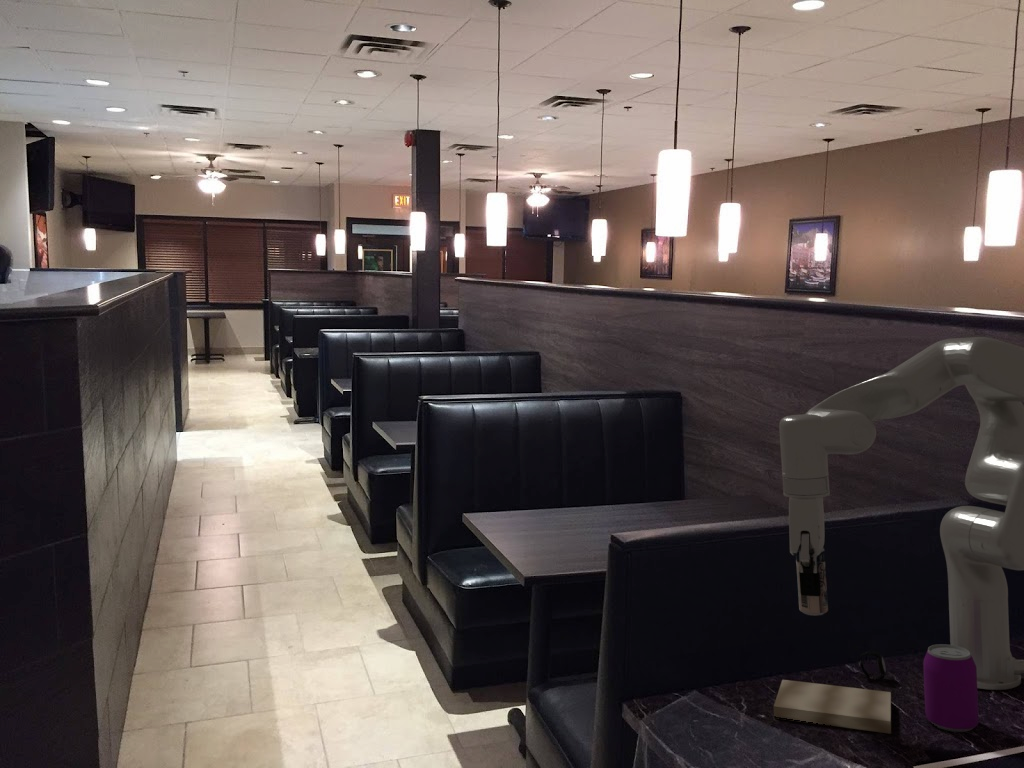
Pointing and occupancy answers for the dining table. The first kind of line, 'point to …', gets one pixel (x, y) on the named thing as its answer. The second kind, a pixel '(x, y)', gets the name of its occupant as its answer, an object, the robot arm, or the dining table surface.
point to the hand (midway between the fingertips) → (812, 589)
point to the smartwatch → (879, 659)
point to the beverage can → (950, 688)
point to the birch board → (834, 705)
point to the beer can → (820, 603)
